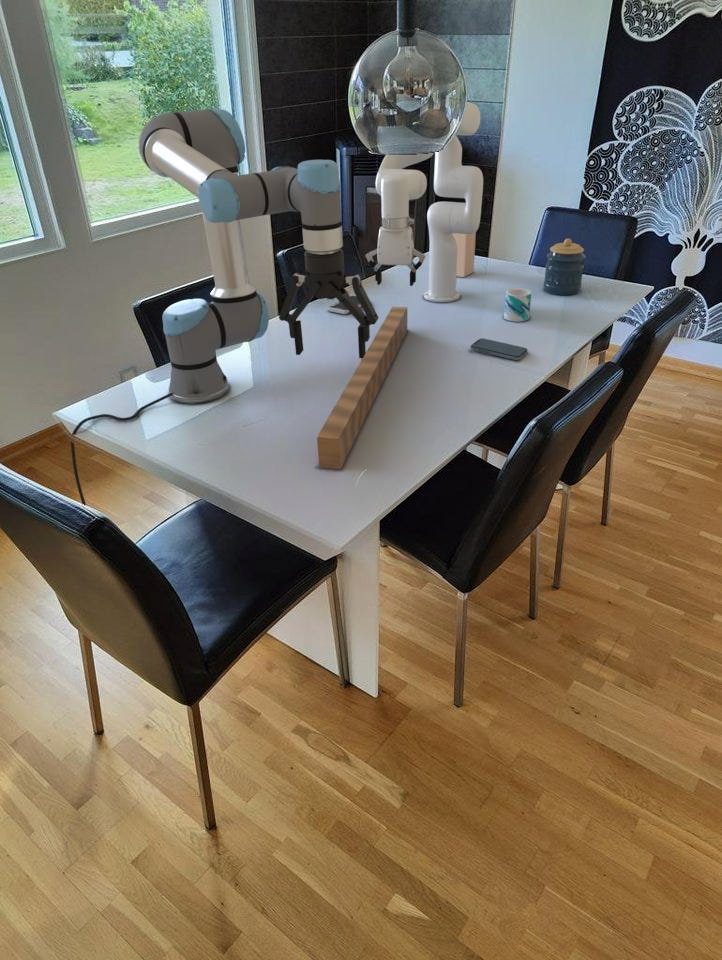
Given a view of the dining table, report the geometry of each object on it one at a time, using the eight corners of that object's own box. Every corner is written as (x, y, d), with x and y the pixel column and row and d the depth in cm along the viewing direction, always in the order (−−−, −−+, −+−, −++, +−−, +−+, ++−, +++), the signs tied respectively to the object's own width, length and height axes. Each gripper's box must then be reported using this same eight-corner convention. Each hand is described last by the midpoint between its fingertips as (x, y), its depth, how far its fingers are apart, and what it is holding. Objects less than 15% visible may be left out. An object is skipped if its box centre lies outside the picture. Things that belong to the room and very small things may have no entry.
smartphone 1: (370, 298, 234) (345, 310, 224) (370, 302, 235) (345, 314, 224) (352, 295, 238) (327, 307, 227) (352, 299, 238) (327, 311, 228)
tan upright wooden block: (464, 277, 255) (467, 216, 243) (444, 274, 259) (446, 214, 248) (478, 268, 264) (481, 209, 252) (458, 266, 268) (461, 208, 256)
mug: (499, 319, 216) (501, 293, 211) (513, 308, 224) (516, 283, 220) (524, 323, 212) (526, 296, 207) (537, 311, 220) (540, 286, 216)
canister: (554, 297, 232) (561, 245, 222) (536, 286, 243) (541, 236, 233) (587, 292, 235) (595, 240, 225) (568, 282, 245) (574, 232, 236)
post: (340, 469, 143) (338, 438, 138) (319, 467, 144) (316, 436, 139) (407, 330, 211) (407, 307, 207) (392, 329, 212) (392, 306, 208)
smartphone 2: (518, 357, 186) (469, 345, 193) (518, 362, 187) (469, 351, 194) (528, 347, 191) (480, 337, 198) (528, 353, 192) (480, 342, 199)
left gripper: (391, 245, 129) (392, 350, 140) (269, 243, 134) (280, 344, 146) (383, 256, 123) (385, 364, 134) (255, 253, 128) (268, 357, 139)
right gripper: (427, 220, 188) (426, 281, 197) (367, 219, 192) (369, 279, 201) (423, 226, 182) (422, 289, 191) (362, 225, 186) (363, 287, 195)
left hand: (330, 354), depth 140 cm, fingers open, 13 cm apart
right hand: (395, 284), depth 196 cm, fingers open, 9 cm apart
